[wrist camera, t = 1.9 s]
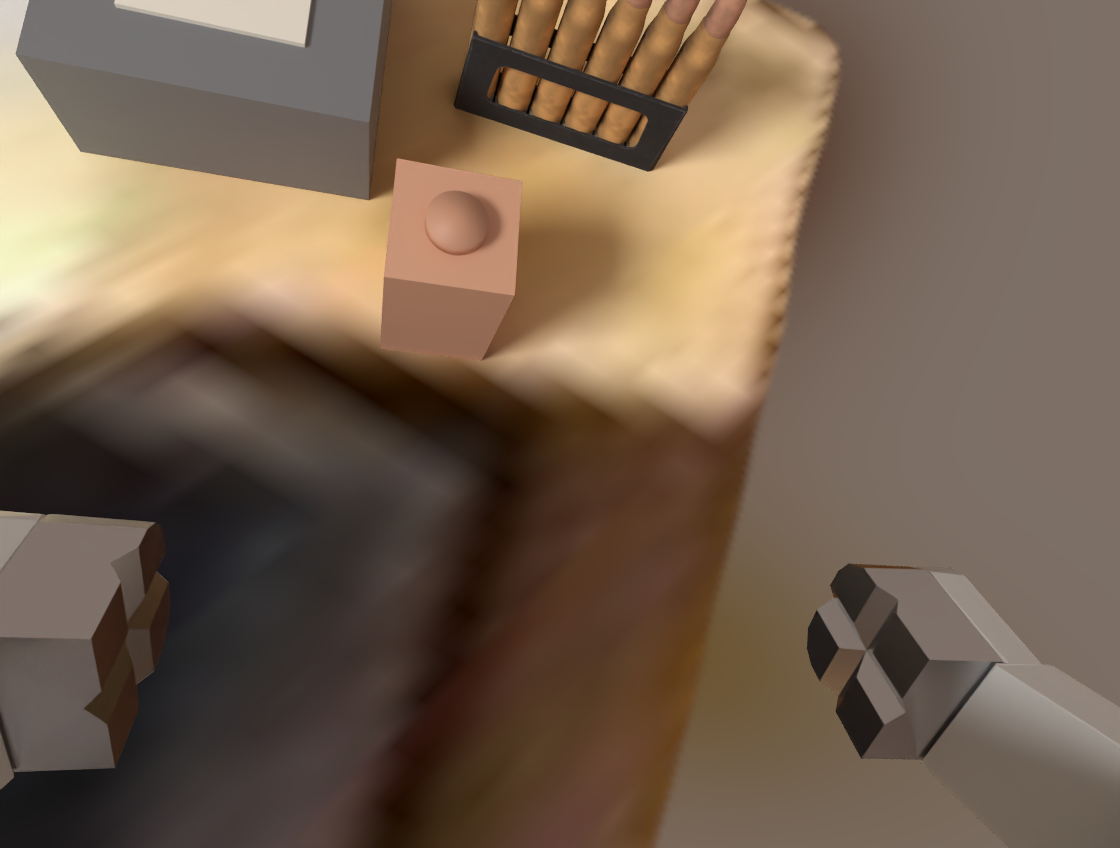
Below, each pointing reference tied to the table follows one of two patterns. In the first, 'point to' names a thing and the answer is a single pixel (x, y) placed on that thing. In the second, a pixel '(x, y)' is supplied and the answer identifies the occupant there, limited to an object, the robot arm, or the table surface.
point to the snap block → (449, 260)
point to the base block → (218, 84)
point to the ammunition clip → (592, 71)
